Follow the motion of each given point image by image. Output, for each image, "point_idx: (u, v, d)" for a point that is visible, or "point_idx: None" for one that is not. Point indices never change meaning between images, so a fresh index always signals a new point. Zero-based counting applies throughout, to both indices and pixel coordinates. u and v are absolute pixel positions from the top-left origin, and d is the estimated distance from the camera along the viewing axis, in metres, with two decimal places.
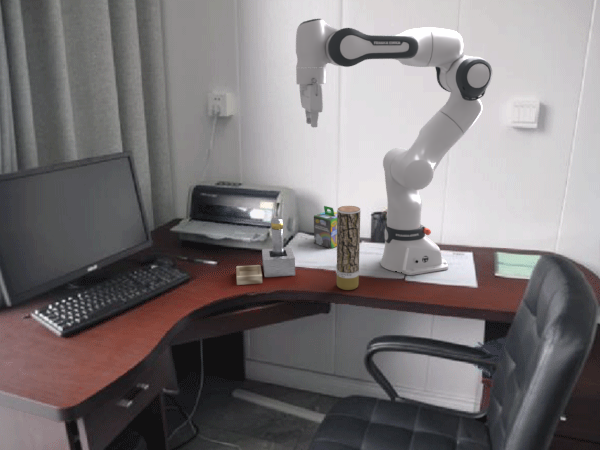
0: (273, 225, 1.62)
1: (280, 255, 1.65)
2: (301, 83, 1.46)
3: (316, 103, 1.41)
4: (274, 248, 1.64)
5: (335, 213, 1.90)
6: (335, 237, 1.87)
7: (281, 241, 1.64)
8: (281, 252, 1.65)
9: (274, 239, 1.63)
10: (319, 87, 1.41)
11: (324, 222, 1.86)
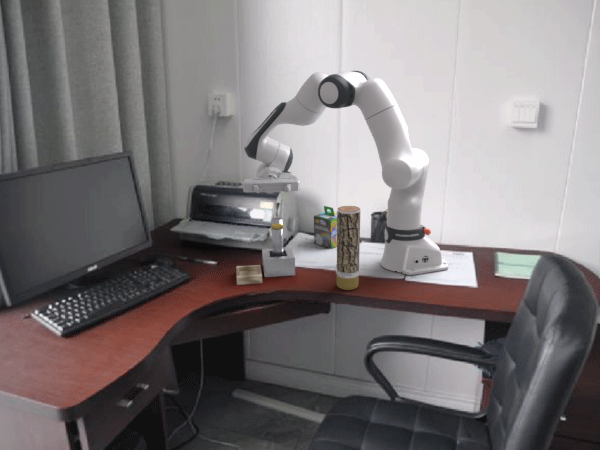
0: (273, 225, 1.62)
1: (280, 255, 1.65)
2: None
3: None
4: (274, 248, 1.64)
5: (335, 213, 1.90)
6: (335, 237, 1.87)
7: (281, 241, 1.64)
8: (281, 252, 1.65)
9: (274, 239, 1.63)
10: None
11: (324, 222, 1.86)
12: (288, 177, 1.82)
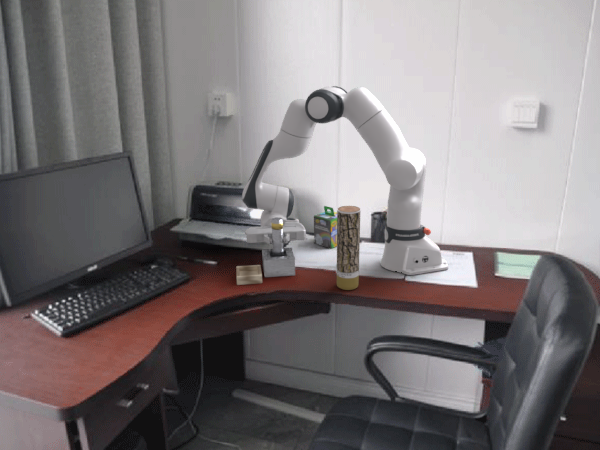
0: (273, 225, 1.62)
1: (280, 255, 1.65)
2: None
3: None
4: (274, 248, 1.64)
5: (335, 213, 1.90)
6: (335, 237, 1.87)
7: (281, 241, 1.64)
8: (281, 252, 1.65)
9: (274, 239, 1.63)
10: None
11: (324, 222, 1.86)
12: (294, 225, 1.74)
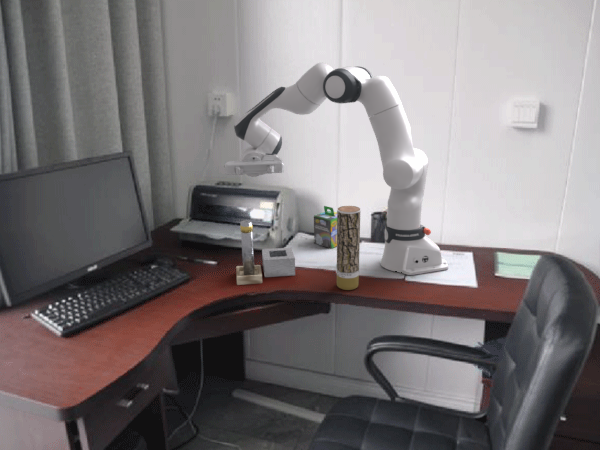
0: (242, 228, 1.55)
1: (250, 259, 1.58)
2: None
3: None
4: (244, 252, 1.58)
5: (335, 213, 1.90)
6: (335, 237, 1.87)
7: (251, 245, 1.57)
8: (251, 256, 1.58)
9: (243, 243, 1.57)
10: None
11: (324, 222, 1.86)
12: (272, 159, 1.76)
